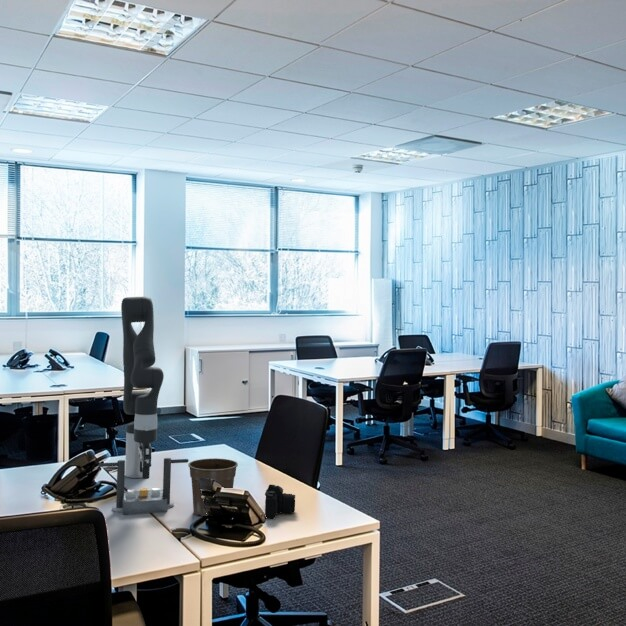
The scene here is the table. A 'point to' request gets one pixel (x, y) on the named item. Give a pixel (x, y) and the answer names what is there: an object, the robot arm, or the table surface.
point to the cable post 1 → (118, 482)
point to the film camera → (278, 502)
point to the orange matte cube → (143, 492)
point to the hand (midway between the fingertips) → (144, 475)
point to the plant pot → (210, 477)
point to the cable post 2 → (169, 477)
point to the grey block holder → (144, 502)
